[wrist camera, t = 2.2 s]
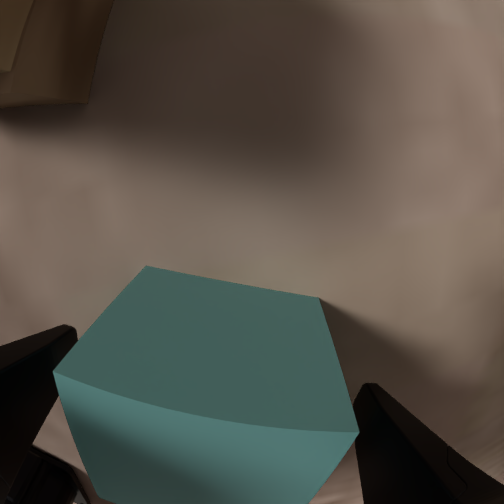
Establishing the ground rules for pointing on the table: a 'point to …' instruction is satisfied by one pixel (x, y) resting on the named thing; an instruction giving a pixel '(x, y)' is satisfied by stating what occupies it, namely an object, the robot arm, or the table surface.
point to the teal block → (206, 394)
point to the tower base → (56, 53)
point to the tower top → (11, 29)
